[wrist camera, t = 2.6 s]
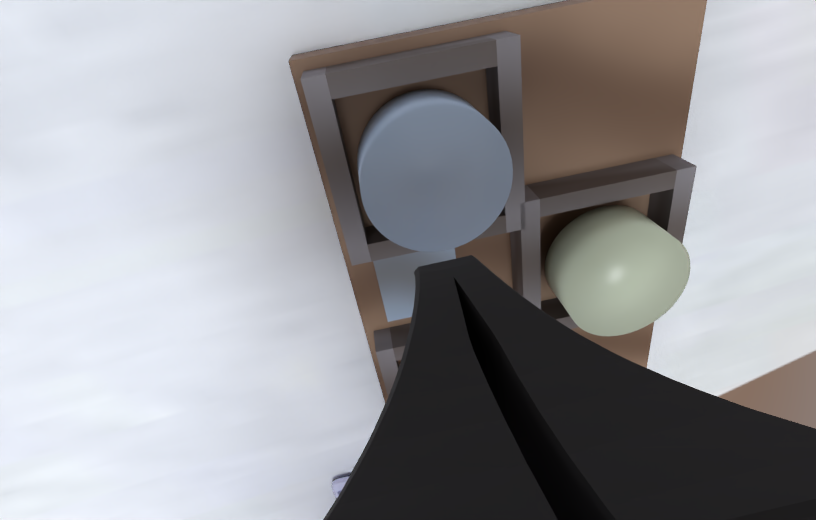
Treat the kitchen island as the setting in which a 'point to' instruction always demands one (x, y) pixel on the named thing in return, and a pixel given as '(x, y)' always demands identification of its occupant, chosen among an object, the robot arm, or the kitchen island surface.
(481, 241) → the panel
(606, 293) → the button sage
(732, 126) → the kitchen island surface
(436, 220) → the button slate
